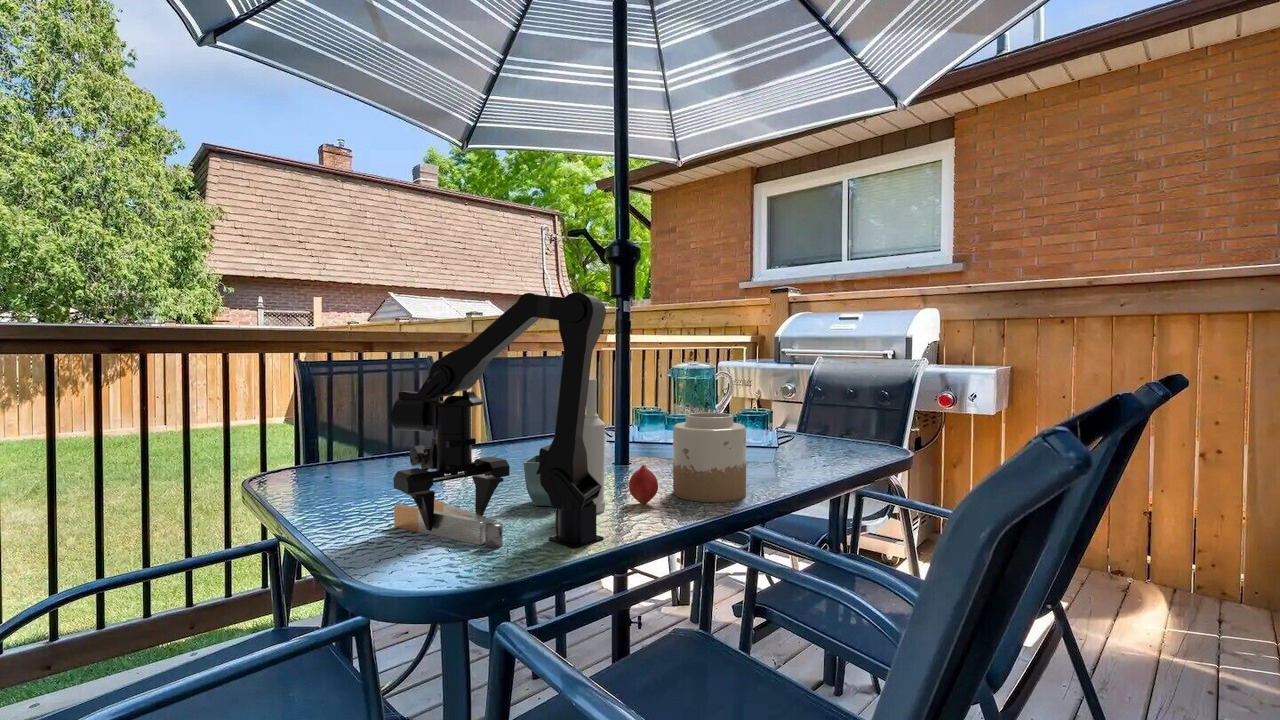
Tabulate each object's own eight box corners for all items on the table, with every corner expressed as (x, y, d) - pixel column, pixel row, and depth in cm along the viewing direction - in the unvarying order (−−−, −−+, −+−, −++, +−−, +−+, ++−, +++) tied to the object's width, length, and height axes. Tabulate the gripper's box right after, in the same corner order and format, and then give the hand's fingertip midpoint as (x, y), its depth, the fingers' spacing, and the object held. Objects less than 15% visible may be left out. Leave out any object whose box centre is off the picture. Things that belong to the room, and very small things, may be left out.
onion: (624, 502, 124) (624, 462, 124) (651, 499, 126) (651, 460, 126) (634, 509, 118) (634, 468, 118) (662, 506, 121) (662, 465, 120)
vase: (708, 482, 142) (708, 409, 141) (761, 494, 130) (761, 415, 130) (658, 492, 132) (658, 414, 132) (710, 507, 120) (710, 421, 120)
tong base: (506, 547, 97) (506, 524, 96) (491, 551, 95) (491, 528, 95) (433, 518, 113) (432, 498, 113) (419, 521, 111) (419, 501, 111)
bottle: (594, 515, 114) (594, 380, 114) (572, 511, 117) (571, 379, 116) (610, 509, 119) (610, 378, 118) (589, 505, 121) (588, 378, 121)
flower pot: (577, 498, 127) (576, 455, 127) (567, 510, 118) (567, 463, 118) (535, 497, 128) (534, 454, 128) (522, 508, 119) (522, 462, 119)
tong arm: (485, 542, 98) (485, 520, 98) (480, 545, 97) (480, 522, 97) (400, 524, 108) (399, 504, 108) (394, 526, 107) (394, 505, 107)
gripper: (476, 423, 117) (477, 505, 117) (378, 433, 103) (379, 526, 104) (511, 428, 109) (511, 516, 109) (409, 440, 96) (410, 541, 96)
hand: (454, 524), depth 105 cm, fingers open, 9 cm apart
